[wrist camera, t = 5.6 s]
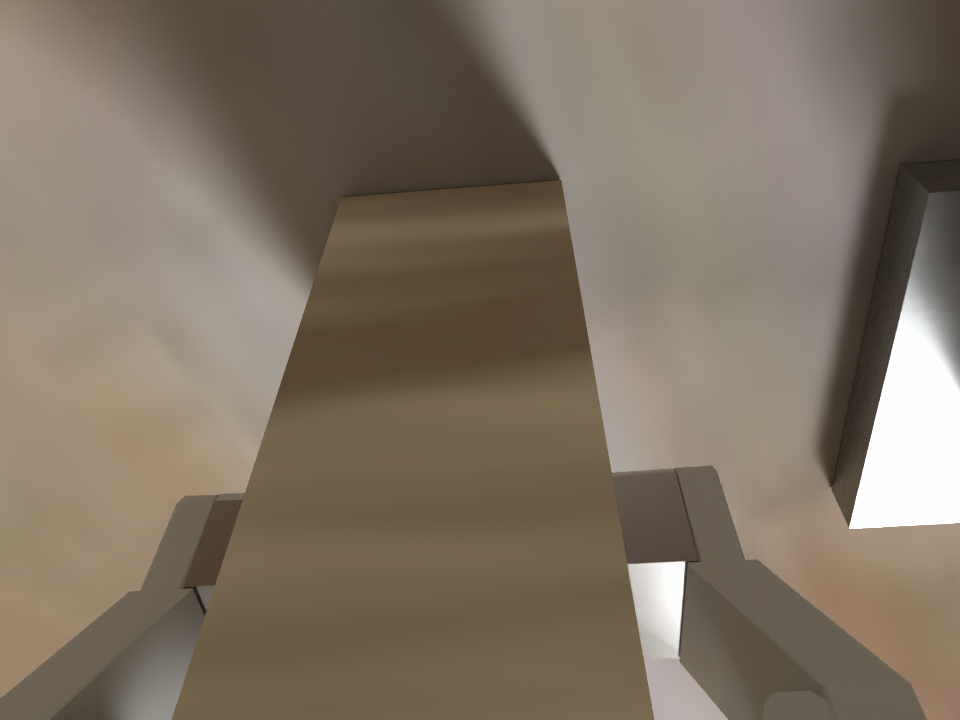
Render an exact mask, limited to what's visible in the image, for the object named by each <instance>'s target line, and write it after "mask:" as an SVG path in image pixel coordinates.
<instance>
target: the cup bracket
mask: <svg viewBox="0 0 960 720" xmlns="http://www.w3.org/2000/svg"><path fill="white" fill-rule="evenodd" d="M832 492H833V494H834V496H835V498H836V501H837V503H838V505H839V507H840V509H841V511H842V513H843V516H844V518H845V520H846V522H847V524H848V526H849V528H868V527H887V526H906V525H924V524H943V523H960V160H951V161H938V162H925V163H912V164H901V166H900V171H899V176H898V180H897V185H896V190H895V194H894V199H893V204H892V209H891V213H890V218H889V223H888V227H887V232H886V237H885V241H884V246H883V251H882V256H881V260H880V265H879V270H878V274H877V279H876V284H875V288H874V293H873V298H872V303H871V307H870V312H869V317H868V321H867V326H866V331H865V335H864V340H863V345H862V349H861V354H860V359H859V364H858V368H857V373H856V378H855V382H854V387H853V392H852V396H851V401H850V406H849V411H848V415H847V420H846V425H845V429H844V434H843V439H842V443H841V448H840V453H839V458H838V462H837V467H836V472H835V476H834V481H833V486H832Z"/></svg>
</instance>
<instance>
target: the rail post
mask: <svg viewBox="0 0 960 720" xmlns="http://www.w3.org/2000/svg"><path fill="white" fill-rule="evenodd" d="M171 720H654V716H653V710H652V704H651V698H650V693H649V687H648V681H647V675H646V669H645V664H644V658H643V652H642V646H641V640H640V635H639V629H638V623H637V617H636V611H635V606H634V600H633V594H632V588H631V582H630V577H629V571H628V565H627V559H626V553H625V548H624V542H623V536H622V530H621V524H620V519H619V513H618V507H617V501H616V495H615V490H614V484H613V478H612V472H611V467H610V461H609V455H608V449H607V443H606V438H605V432H604V426H603V420H602V414H601V409H600V403H599V397H598V391H597V385H596V380H595V374H594V368H593V362H592V356H591V351H590V345H589V339H588V333H587V327H586V322H585V316H584V310H583V304H582V298H581V293H580V287H579V281H578V275H577V269H576V264H575V258H574V252H573V246H572V240H571V235H570V229H569V223H568V217H567V211H566V206H565V200H564V194H563V188H562V182H561V180H555V181H543V182H530V183H517V184H504V185H492V186H479V187H466V188H454V189H441V190H428V191H415V192H403V193H390V194H377V195H364V196H352V197H341V200H340V203H339V206H338V209H337V212H336V215H335V218H334V221H333V224H332V228H331V231H330V234H329V237H328V240H327V243H326V246H325V249H324V252H323V255H322V258H321V261H320V264H319V267H318V271H317V274H316V277H315V280H314V283H313V286H312V289H311V292H310V295H309V298H308V301H307V304H306V307H305V311H304V314H303V317H302V320H301V323H300V326H299V329H298V332H297V335H296V338H295V341H294V344H293V347H292V350H291V354H290V357H289V360H288V363H287V366H286V369H285V372H284V375H283V378H282V381H281V384H280V387H279V390H278V393H277V397H276V400H275V403H274V406H273V409H272V412H271V415H270V418H269V421H268V424H267V427H266V430H265V433H264V436H263V440H262V443H261V446H260V449H259V452H258V455H257V458H256V461H255V464H254V467H253V470H252V473H251V476H250V479H249V483H248V486H247V489H246V492H245V495H244V498H243V501H242V504H241V507H240V510H239V513H238V516H237V519H236V523H235V526H234V529H233V532H232V535H231V538H230V541H229V544H228V547H227V550H226V553H225V556H224V559H223V562H222V566H221V569H220V572H219V575H218V578H217V581H216V584H215V587H214V590H213V593H212V596H211V599H210V602H209V605H208V609H207V612H206V615H205V618H204V621H203V624H202V627H201V630H200V633H199V636H198V639H197V642H196V645H195V648H194V652H193V655H192V658H191V661H190V664H189V667H188V670H187V673H186V676H185V679H184V682H183V685H182V688H181V692H180V695H179V698H178V701H177V704H176V707H175V710H174V713H173V716H172V719H171Z"/></svg>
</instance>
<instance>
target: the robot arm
mask: <svg viewBox="0 0 960 720" xmlns="http://www.w3.org/2000/svg"><path fill="white" fill-rule="evenodd" d="M612 478H613V484H614V490H615V495H616V501H617V507H618V513H619V519H620V524H621V530H622V536H623V542H624V548H625V553H626V559H627V565H628V571H629V577H630V582H631V588H632V594H633V600H634V606H635V611H636V617H637V623H638V629H639V635H640V640H641V646H642V652H643V658H644V659H671V658H680V663H681V664H682V665H683V666H684V667H685V669H686V670H687V671H688V672H689V673H690V675H691V676H692V677H693V678H694V679H695V680H696V682H697V683H698V684H699V685H700V686H701V688H702V689H703V690H704V691H705V692H706V693H707V695H708V696H709V697H710V698H711V699H712V701H713V702H714V703H715V704H716V705H717V706H718V708H719V709H720V710H721V711H722V712H723V714H724V715H725V716H726V717H727V718H728V720H927V719H926V716H925V714H924V712H923V710H922V708H921V705H920V703H919V701H918V699H917V696H916V694H915V692H914V690H913V688H912V685H911V684H910V683H909V682H908V681H906V680H905V679H904V678H903V677H901V676H900V675H899V674H898V673H897V672H895V671H894V670H893V669H892V668H890V667H889V666H888V665H887V664H885V663H884V662H883V661H882V660H880V659H879V658H878V657H877V656H876V655H874V654H873V653H872V652H871V651H869V650H868V649H867V648H866V647H864V646H863V645H862V644H861V643H859V642H858V641H857V640H856V639H854V638H853V637H852V636H851V635H850V634H848V633H847V632H846V631H845V630H843V629H842V628H841V627H840V626H838V625H837V624H836V623H835V622H833V621H832V620H831V619H830V618H829V617H827V616H826V615H825V614H824V613H822V612H821V611H820V610H819V609H817V608H816V607H815V606H814V605H812V604H811V603H810V602H809V601H808V600H806V599H805V598H804V597H803V596H801V595H800V594H799V593H798V592H796V591H795V590H794V589H793V588H791V587H790V586H789V585H788V584H786V583H785V582H784V581H783V580H782V579H780V578H779V577H778V576H777V575H775V574H774V573H773V572H772V571H770V570H769V569H768V568H767V567H765V566H764V565H763V564H762V563H761V562H759V561H758V560H745V558H744V555H743V551H742V548H741V545H740V542H739V539H738V536H737V533H736V530H735V527H734V523H733V520H732V517H731V514H730V511H729V508H728V505H727V502H726V499H725V495H724V492H723V489H722V486H721V483H720V480H719V477H718V474H717V471H716V470H715V469H714V467H713V466H698V467H684V468H674V469H659V470H644V471H629V472H614V473H612ZM244 495H245V493H235V494H221V495H198V496H184V497H183V498H182V499H181V500H180V501H179V502H178V503H177V505H176V507H175V509H174V511H173V514H172V516H171V519H170V521H169V523H168V526H167V528H166V531H165V533H164V535H163V538H162V540H161V542H160V545H159V547H158V550H157V552H156V554H155V557H154V559H153V562H152V564H151V566H150V569H149V571H148V574H147V576H146V578H145V581H144V583H143V585H142V588H141V590H140V591H133V592H128V593H127V594H126V595H125V596H124V597H122V598H121V599H120V600H119V601H118V602H116V603H115V604H114V605H113V606H112V607H110V608H109V609H108V610H107V611H106V612H104V613H103V614H102V615H101V616H100V617H98V618H97V619H96V620H95V621H94V622H92V623H91V624H90V625H89V626H87V627H86V628H85V629H84V630H83V631H81V632H80V633H79V634H78V635H77V636H75V637H74V638H73V639H72V640H71V641H69V642H68V643H67V644H66V645H65V646H63V647H62V648H61V649H60V650H59V651H57V652H56V653H55V654H54V655H53V656H51V657H50V658H49V659H48V660H47V661H45V662H44V663H43V664H42V665H40V666H39V667H38V668H37V669H36V670H34V671H33V672H32V673H31V674H30V675H28V676H27V677H26V678H25V679H24V680H22V681H21V682H20V683H19V684H18V685H16V686H15V687H14V688H13V689H12V690H10V691H9V692H8V693H7V694H6V695H4V696H3V697H2V698H1V699H0V720H171V719H172V716H173V713H174V710H175V707H176V704H177V701H178V698H179V695H180V692H181V688H182V685H183V682H184V679H185V676H186V673H187V670H188V667H189V664H190V661H191V658H192V655H193V652H194V648H195V645H196V642H197V639H198V636H199V633H200V630H201V627H202V624H203V621H204V618H205V615H206V612H207V609H208V605H209V602H210V599H211V596H212V593H213V590H214V587H215V584H216V581H217V578H218V575H219V572H220V569H221V566H222V562H223V559H224V556H225V553H226V550H227V547H228V544H229V541H230V538H231V535H232V532H233V529H234V526H235V523H236V519H237V516H238V513H239V510H240V507H241V504H242V501H243V498H244Z"/></svg>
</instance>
